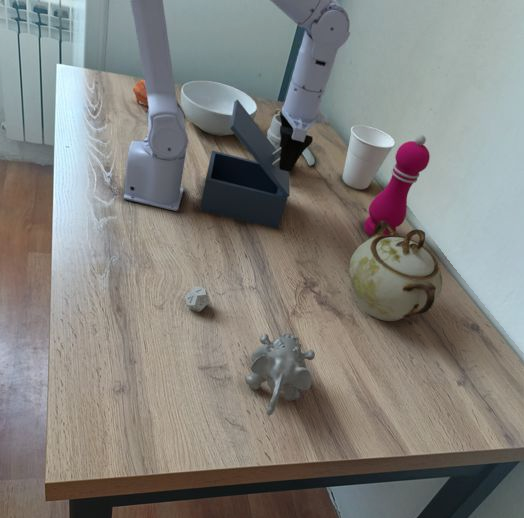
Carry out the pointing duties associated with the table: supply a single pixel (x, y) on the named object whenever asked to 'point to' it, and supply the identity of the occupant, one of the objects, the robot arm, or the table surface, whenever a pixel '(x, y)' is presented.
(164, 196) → the robot arm
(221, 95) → the cereal bowl
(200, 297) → the game die
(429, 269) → the sugar bowl
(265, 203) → the compartment
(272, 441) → the table surface
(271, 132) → the mug
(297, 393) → the elephant statuette
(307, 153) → the knife
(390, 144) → the cup
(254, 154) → the lid
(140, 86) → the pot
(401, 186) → the pepper mill
